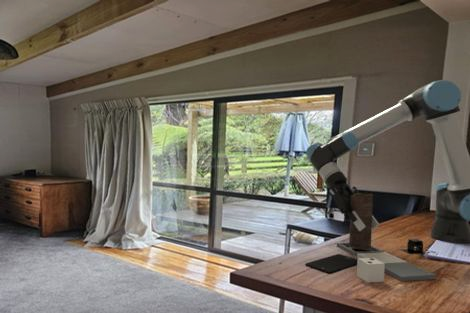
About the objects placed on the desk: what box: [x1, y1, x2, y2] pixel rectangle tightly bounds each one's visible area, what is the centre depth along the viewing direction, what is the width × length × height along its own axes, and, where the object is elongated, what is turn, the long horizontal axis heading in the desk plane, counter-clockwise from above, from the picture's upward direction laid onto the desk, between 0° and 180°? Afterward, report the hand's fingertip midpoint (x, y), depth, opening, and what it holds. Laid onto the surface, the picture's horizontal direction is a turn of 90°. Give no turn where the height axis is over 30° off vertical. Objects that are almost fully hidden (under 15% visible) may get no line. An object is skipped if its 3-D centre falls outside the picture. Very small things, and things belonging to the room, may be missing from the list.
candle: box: [348, 192, 374, 251], centre depth 123 cm, size 8×7×20 cm
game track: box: [336, 241, 436, 282], centre depth 112 cm, size 11×34×1 cm, turn 13°
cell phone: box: [304, 253, 358, 275], centre depth 107 cm, size 9×18×1 cm, turn 130°
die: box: [356, 257, 385, 283], centre depth 96 cm, size 5×5×5 cm
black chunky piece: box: [399, 238, 427, 255], centre depth 125 cm, size 12×7×5 cm, turn 106°
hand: (369, 227), depth 120 cm, fingers closed on candle, 7 cm apart
